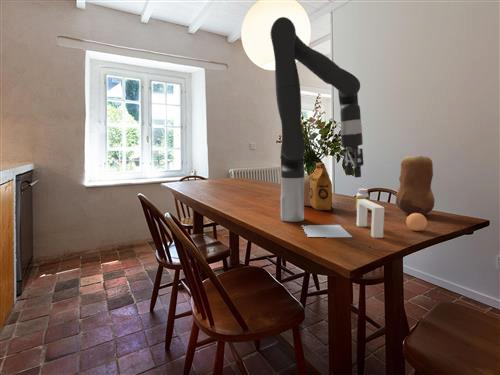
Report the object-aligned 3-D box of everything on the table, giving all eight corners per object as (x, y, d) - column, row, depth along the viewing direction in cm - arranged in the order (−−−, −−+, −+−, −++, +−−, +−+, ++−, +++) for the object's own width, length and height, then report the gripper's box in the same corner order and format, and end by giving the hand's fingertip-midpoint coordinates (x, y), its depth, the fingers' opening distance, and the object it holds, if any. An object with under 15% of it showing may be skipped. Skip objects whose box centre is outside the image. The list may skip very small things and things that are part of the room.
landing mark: (308, 237, 88) (308, 237, 88) (301, 225, 102) (301, 225, 102) (352, 237, 88) (352, 236, 88) (339, 225, 102) (339, 225, 102)
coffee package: (312, 210, 127) (313, 163, 124) (306, 205, 140) (307, 162, 137) (334, 210, 127) (335, 162, 124) (326, 205, 140) (327, 161, 137)
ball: (411, 233, 91) (413, 215, 90) (402, 228, 97) (403, 211, 96) (430, 232, 91) (431, 215, 90) (419, 227, 97) (420, 211, 96)
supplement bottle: (367, 211, 123) (368, 190, 122) (354, 210, 126) (355, 189, 125) (369, 209, 128) (370, 188, 127) (356, 208, 131) (357, 188, 129)
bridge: (373, 237, 87) (374, 207, 86) (356, 225, 102) (357, 199, 101) (383, 237, 87) (384, 207, 86) (364, 224, 102) (365, 199, 101)
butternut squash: (430, 212, 120) (434, 154, 116) (436, 219, 108) (440, 155, 104) (394, 210, 125) (397, 155, 122) (396, 216, 113) (399, 155, 110)
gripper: (335, 135, 110) (338, 175, 112) (347, 133, 96) (350, 179, 98) (354, 133, 110) (356, 173, 112) (369, 130, 96) (371, 176, 98)
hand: (353, 176), depth 105 cm, fingers open, 8 cm apart
